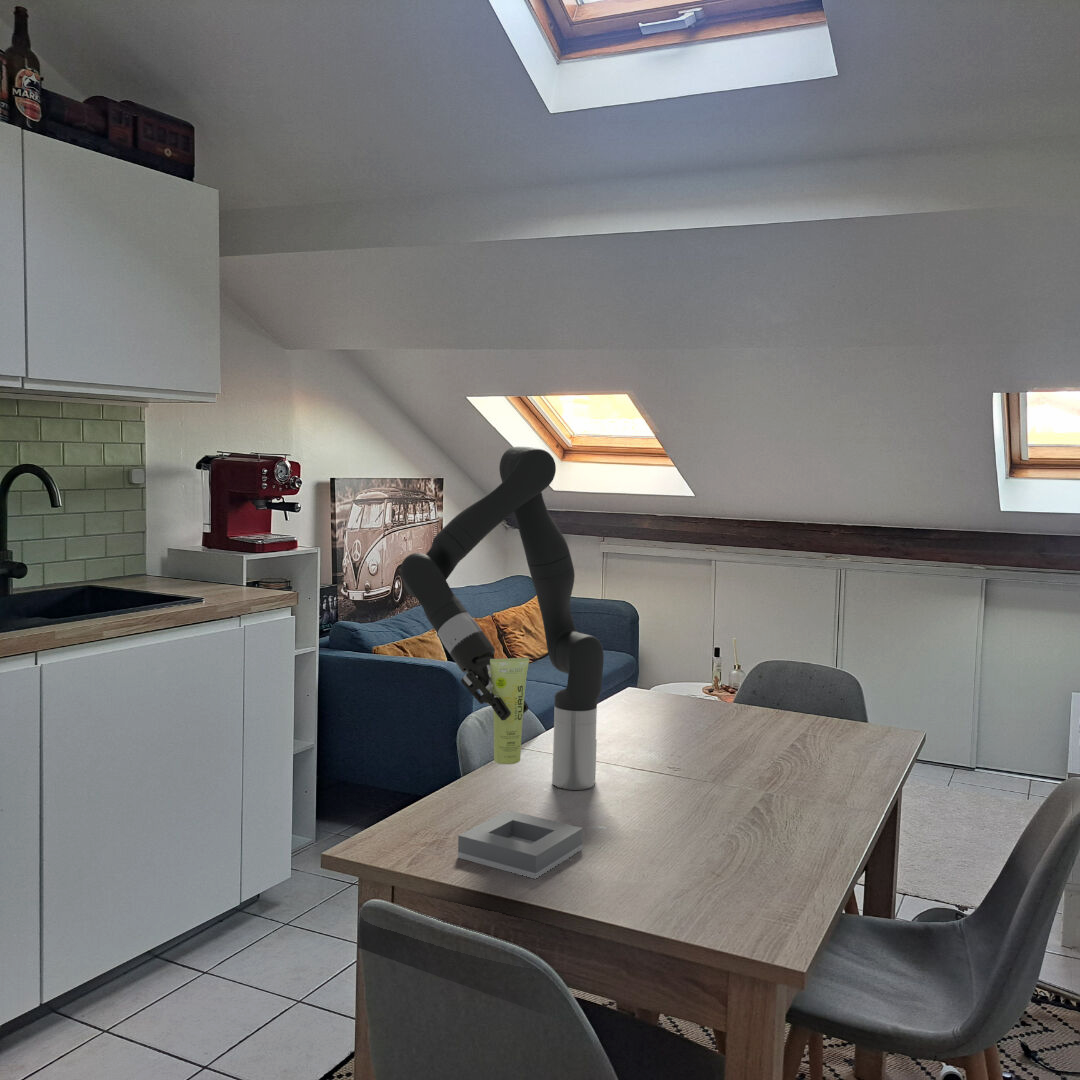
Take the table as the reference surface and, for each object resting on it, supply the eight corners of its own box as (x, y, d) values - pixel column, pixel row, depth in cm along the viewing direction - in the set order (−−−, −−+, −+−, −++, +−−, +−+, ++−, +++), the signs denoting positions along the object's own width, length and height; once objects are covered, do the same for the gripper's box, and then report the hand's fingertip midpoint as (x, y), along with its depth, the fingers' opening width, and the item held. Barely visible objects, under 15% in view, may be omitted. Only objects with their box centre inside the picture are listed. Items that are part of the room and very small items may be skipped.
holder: (508, 830, 189) (508, 810, 189) (582, 849, 181) (582, 828, 180) (457, 857, 175) (458, 835, 175) (535, 879, 167) (536, 855, 167)
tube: (509, 767, 182) (513, 661, 181) (486, 762, 185) (489, 658, 183) (525, 760, 187) (529, 657, 186) (502, 755, 190) (506, 653, 188)
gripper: (454, 634, 182) (506, 710, 177) (499, 625, 194) (549, 696, 189) (430, 659, 185) (481, 734, 180) (476, 649, 197) (525, 719, 192)
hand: (515, 714), depth 184 cm, fingers closed on tube, 5 cm apart
